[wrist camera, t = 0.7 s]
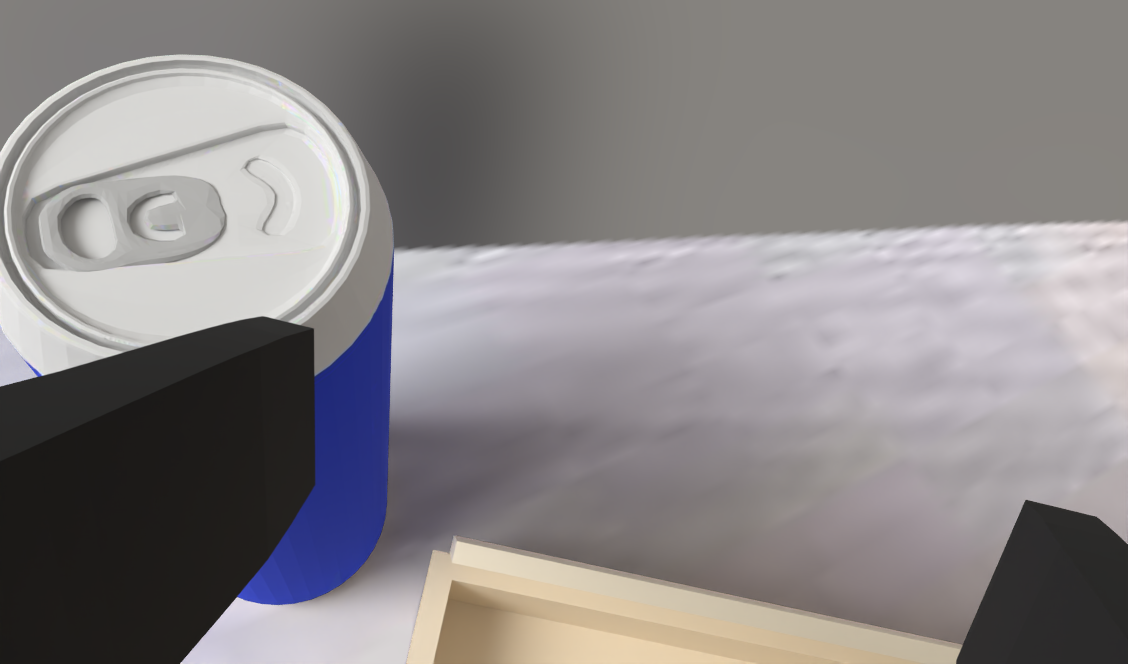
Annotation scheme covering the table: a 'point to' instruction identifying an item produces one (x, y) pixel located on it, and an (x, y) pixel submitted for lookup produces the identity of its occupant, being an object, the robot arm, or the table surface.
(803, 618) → the flap
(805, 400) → the table surface
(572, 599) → the carton
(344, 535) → the beverage can
